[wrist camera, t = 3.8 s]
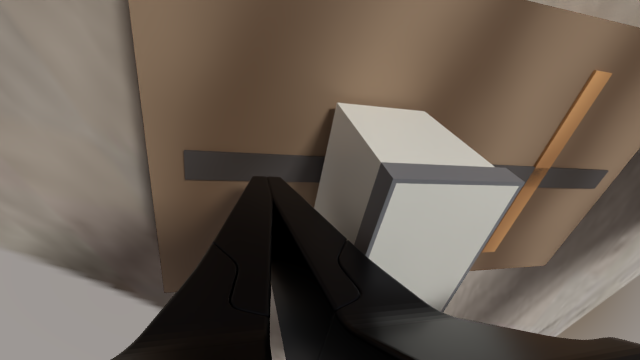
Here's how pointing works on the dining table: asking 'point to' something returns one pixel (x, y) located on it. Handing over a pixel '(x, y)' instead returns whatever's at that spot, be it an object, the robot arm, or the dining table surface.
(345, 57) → the fader console
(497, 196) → the fader tab
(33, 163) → the dining table surface
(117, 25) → the dining table surface
